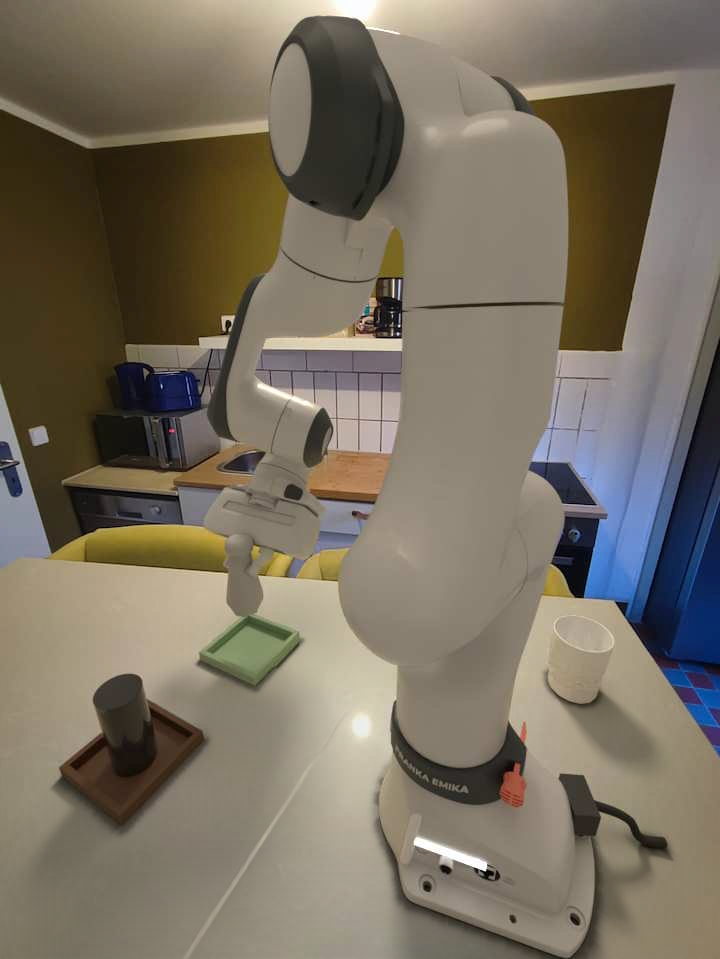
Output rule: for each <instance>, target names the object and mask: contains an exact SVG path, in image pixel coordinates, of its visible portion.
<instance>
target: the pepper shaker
mask: <svg viewBox="0 0 720 959" xmlns="http://www.w3.org/2000/svg"><path fill="white" fill-rule="evenodd" d="M147 699H148V698H147V694H146V689H145V685H144V681H143V679H142V678H141V676H139V675H138V674H135V673H122V674H118V675H116V676H113V677H111V678H110V679H108V680H106V681H104V682H103V683H102V684H100V685H99V687H98V688H97V689H96V690H95V691H94V694H93V696H92V704H93V707H94V711H95V715H96V718H97V721H98V724H99V727H100V731H101V732H102V735H103V738H104V742H105V745H106V748H107V752H108V755H109V759H110V762H111V765H112V769H113V771H114V773H115V774H116V775H118V776H120V777H131V776H135V775H137V774H139V773H141V772H143V771H144V770H145V769H147V768H148V767H149V766H150V765H151V764H152V763H153V761H154V760H155V758H156V756H157V753H158V744H157V740H156V736H155V732H154V728H153V723H152V719H151V715H150V711H149V707H148V702H147ZM101 732H100V733H101Z"/></svg>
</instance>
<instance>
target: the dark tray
mask: <svg viewBox="0 0 720 959" xmlns="http://www.w3.org/2000/svg"><path fill="white" fill-rule="evenodd" d="M147 702H148V707H149V711H150V715H151V719H152V723H153V728H154V732H155V736H156V740H157V744H158V753H157V756H156V758H155V760H154V761H153V763H152V764H151V765H150V766H149V767H148V768H147V769H145V770H144V771H143V772H141V773H139V774H137V775H135V776H131V777H120V776H118V775H116V774H115V773H114V771H113V769H112V765H111V762H110V759H109V755H108V752H107V748H106V745H105V742H104V738H103V735H102V732H100V733H99V734H98V735H96V736H95V737H94V738H93V739H92V740H90V741H89V742H88V743H87V744H85V745H84V746H83V747H82V748H80V749H79V750H78V751H77V752H76V753H74V754H73V755H72V756H71V757H69V758H68V759H67V760H66V761H65V762H63V763H62V764H61V765H60V766H59V767H58V770H59V774H60V775H61V777H62V778H63V779H64V780H65V781H66V782H67V783H69V784H70V785H72V787H74V788H75V789H76V790H77V791H79V792H80V793H82V795H83V796H84V797H86V798H88V800H90V801H91V802H92V803H93V804H95V805H96V806H97V807H99V808H100V809H101V810H102V811H104V812H105V813H106V814H107V815H108V816H110V817H111V818H112V819H113V820H114V821H116V822H117V823H118V824H119V825H120V826H124V825H125V824H126V823H127V822H128V821H129V819H131V818H132V816H134V814H135V813H137V811H138V810H139V809H140V808H141V807H142V806H143V805H144V804H145V803H146V802H147V801H148V800H149V799H150V798H151V797H152V795H154V793H155V792H156V791H157V790H159V788H160V787H161V786H162V785H163V784H164V783H165V782H166V781H167V779H169V778H170V776H171V775H172V774H173V773H174V772H175V771H176V770H177V769H178V768H179V767H180V766H181V765H182V764H183V763H184V762H185V761H186V759H187V758H189V756H190V755H191V754H192V753H193V752H194V751H195V750H196V749H197V748H198V747H199V746H200V745H201V744H202V743H203V742H204V740H205V737H204V732H203V730H202V729H200V728H198V727H196V726H194V725H193V724H192V723H189V722H188V721H186V720H184V719H182V718H181V717H180V716H177V715H175V714H174V713H173V712H170V711H169V710H167V709H165V708H163V707H162V706H161V705H159V704H157V703H155V702H153V701H152V700H150V699H148V698H147Z"/></svg>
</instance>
